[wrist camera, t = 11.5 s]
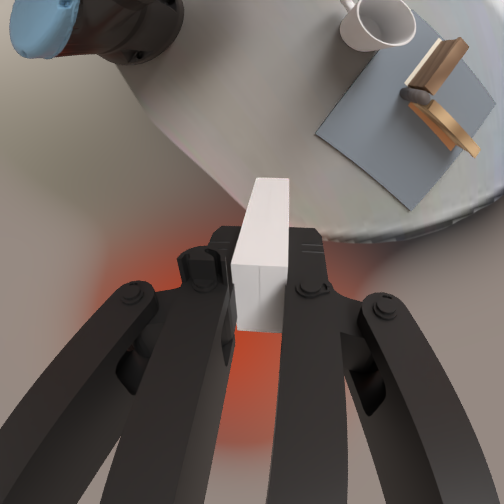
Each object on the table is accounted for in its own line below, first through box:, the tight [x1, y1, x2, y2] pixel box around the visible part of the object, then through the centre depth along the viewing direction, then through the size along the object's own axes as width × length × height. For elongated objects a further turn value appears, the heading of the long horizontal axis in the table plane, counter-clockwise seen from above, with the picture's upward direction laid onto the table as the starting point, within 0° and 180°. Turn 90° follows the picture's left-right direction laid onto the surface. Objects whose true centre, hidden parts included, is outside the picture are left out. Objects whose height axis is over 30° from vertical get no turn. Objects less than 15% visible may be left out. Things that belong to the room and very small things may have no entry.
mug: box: [340, 0, 416, 52], centre depth 22 cm, size 10×7×12 cm, turn 35°
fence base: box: [400, 37, 469, 105], centre depth 26 cm, size 2×13×6 cm, turn 149°
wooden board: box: [412, 99, 481, 158], centre depth 30 cm, size 11×2×6 cm, turn 63°
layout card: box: [315, 10, 496, 211], centre depth 33 cm, size 21×27×1 cm
